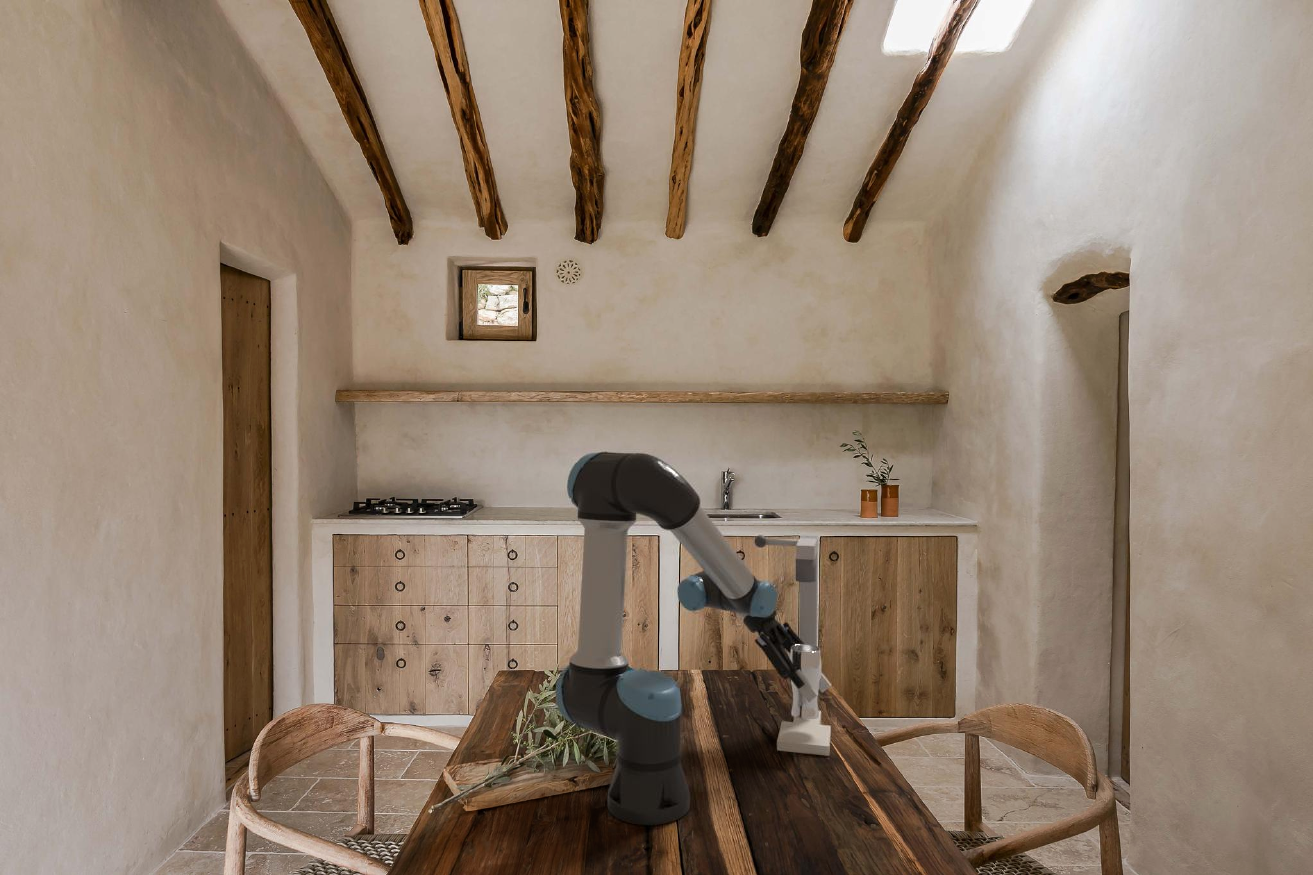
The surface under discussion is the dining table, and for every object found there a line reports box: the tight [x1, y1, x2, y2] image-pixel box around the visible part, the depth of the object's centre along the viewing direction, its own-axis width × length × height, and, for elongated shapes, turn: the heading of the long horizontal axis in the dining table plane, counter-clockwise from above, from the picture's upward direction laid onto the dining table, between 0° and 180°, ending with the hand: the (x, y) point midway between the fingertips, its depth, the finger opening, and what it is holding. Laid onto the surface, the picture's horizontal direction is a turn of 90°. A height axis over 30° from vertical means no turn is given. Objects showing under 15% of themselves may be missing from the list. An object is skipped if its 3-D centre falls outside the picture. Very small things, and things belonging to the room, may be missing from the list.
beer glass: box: [789, 644, 822, 720], centre depth 170 cm, size 7×7×15 cm
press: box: [753, 534, 832, 757], centre depth 175 cm, size 21×18×44 cm
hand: (820, 693), depth 168 cm, fingers closed on beer glass, 7 cm apart
